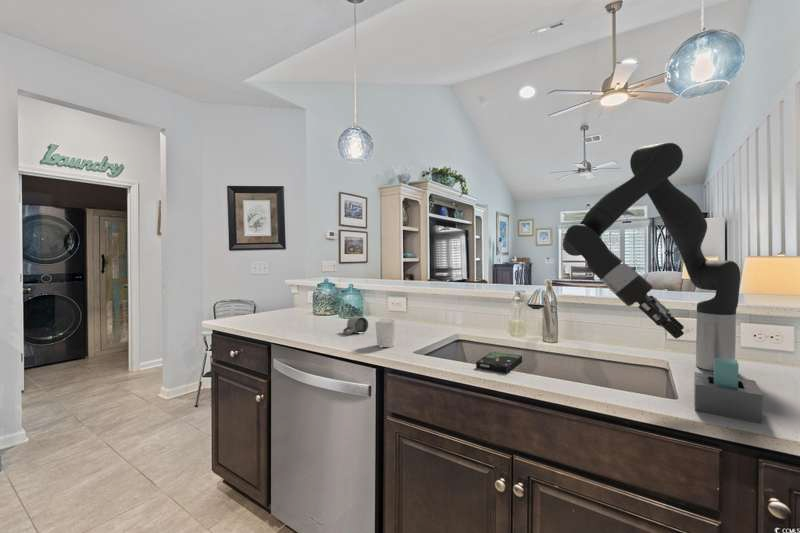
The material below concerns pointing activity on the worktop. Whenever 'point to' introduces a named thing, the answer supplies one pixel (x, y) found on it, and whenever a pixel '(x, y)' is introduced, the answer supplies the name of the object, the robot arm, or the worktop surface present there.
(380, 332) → the white cup
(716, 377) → the teal peg
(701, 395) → the socket block
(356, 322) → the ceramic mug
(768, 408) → the worktop surface
